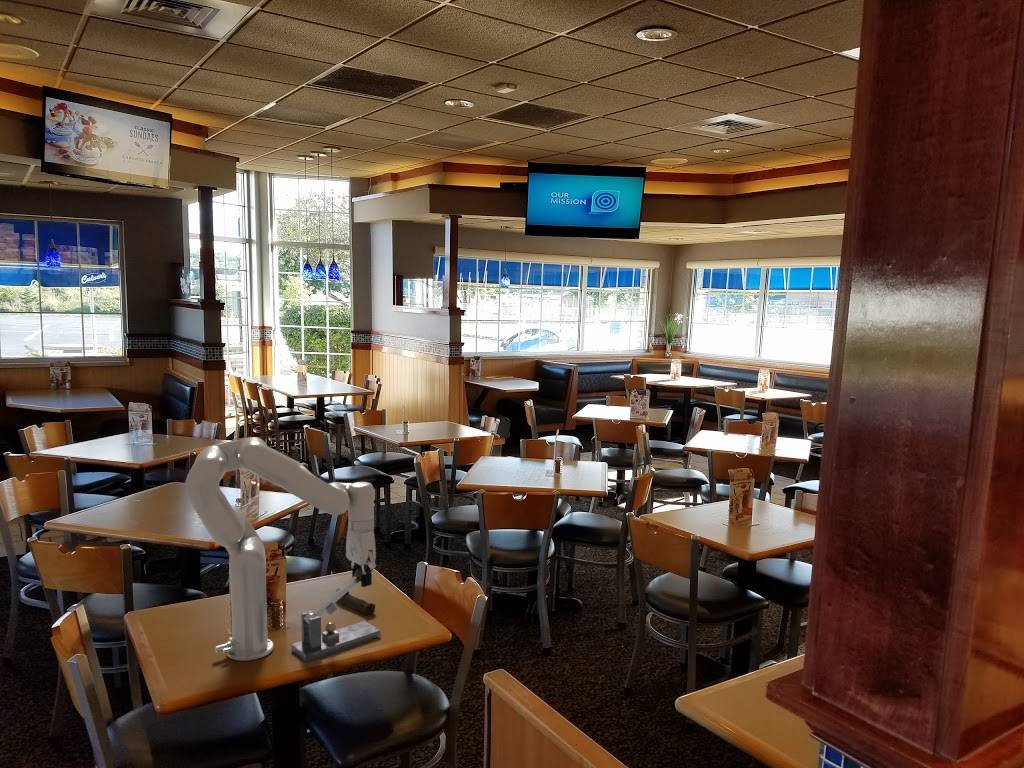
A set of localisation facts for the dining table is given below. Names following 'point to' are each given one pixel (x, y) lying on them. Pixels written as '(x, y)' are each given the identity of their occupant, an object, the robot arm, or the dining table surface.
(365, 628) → the nutcracker bench
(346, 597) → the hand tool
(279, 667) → the dining table surface
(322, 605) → the lever
